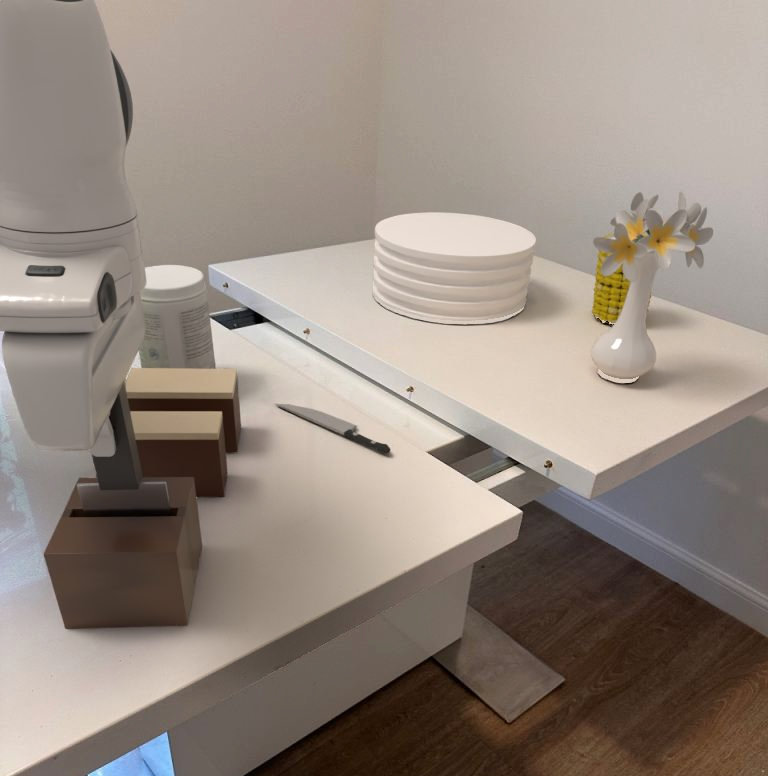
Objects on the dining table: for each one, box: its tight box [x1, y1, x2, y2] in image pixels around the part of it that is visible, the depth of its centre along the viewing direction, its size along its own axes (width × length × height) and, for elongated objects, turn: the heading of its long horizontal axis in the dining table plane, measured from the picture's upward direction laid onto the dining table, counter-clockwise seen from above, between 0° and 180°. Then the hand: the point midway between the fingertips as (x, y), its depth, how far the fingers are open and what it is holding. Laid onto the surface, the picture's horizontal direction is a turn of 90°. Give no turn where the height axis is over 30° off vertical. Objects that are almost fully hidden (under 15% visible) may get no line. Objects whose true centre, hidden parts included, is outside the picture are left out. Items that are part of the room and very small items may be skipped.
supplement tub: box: [138, 264, 217, 369], centre depth 93 cm, size 10×10×15 cm
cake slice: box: [130, 411, 229, 498], centre depth 75 cm, size 12×5×8 cm, turn 95°
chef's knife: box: [275, 403, 391, 454], centre depth 90 cm, size 19×1×3 cm
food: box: [591, 232, 652, 323], centre depth 122 cm, size 15×12×10 cm
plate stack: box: [372, 211, 537, 321], centre depth 128 cm, size 28×28×12 cm
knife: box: [77, 382, 172, 517], centre depth 59 cm, size 7×2×19 cm, turn 95°
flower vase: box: [589, 190, 714, 379], centre depth 99 cm, size 13×18×25 cm
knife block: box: [43, 477, 203, 629], centre depth 62 cm, size 10×11×8 cm
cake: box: [126, 367, 242, 454], centre depth 83 cm, size 12×6×8 cm, turn 95°
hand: (110, 440), depth 56 cm, fingers closed on knife, 2 cm apart
